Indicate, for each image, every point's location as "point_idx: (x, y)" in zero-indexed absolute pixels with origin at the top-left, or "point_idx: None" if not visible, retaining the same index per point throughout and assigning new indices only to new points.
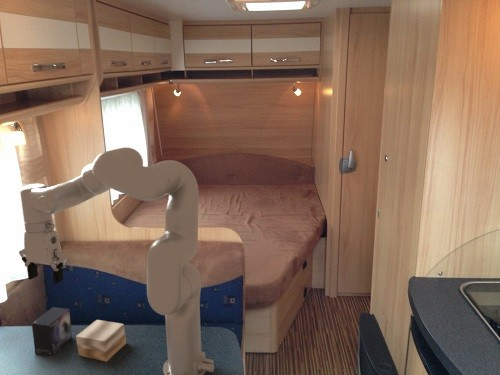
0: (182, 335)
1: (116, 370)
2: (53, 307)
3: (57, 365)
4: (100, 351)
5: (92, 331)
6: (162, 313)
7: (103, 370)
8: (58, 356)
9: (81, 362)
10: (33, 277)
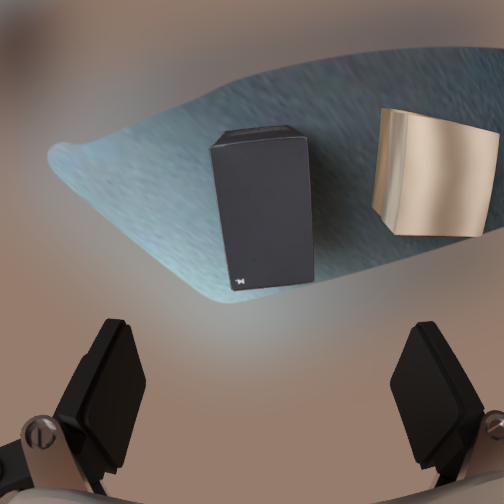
0: None
1: None
2: (217, 152)
3: (339, 258)
4: None
5: (433, 195)
6: None
7: (453, 243)
8: (316, 225)
9: None
10: (138, 364)
